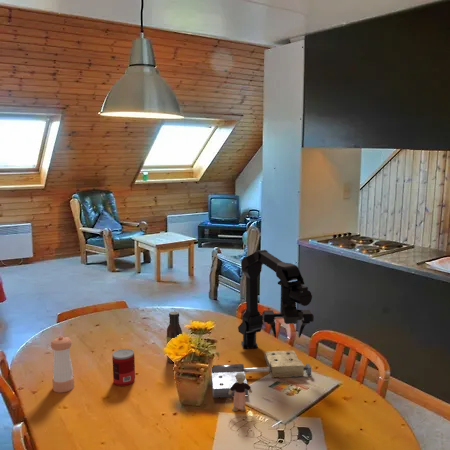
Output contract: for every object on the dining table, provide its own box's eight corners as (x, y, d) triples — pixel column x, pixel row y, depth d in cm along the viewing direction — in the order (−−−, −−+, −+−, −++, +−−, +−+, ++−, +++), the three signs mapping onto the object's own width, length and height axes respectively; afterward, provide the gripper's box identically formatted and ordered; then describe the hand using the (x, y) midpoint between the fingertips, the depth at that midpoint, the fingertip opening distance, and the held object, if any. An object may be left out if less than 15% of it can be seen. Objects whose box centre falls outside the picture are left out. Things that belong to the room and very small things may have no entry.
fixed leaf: (211, 375, 177) (210, 363, 177) (308, 371, 180) (308, 359, 180) (213, 397, 161) (213, 384, 160) (320, 393, 164) (320, 380, 163)
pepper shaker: (54, 394, 163) (51, 342, 160) (51, 385, 170) (48, 334, 167) (76, 389, 167) (73, 338, 164) (72, 380, 173) (69, 331, 170)
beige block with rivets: (264, 358, 191) (264, 348, 190) (293, 357, 192) (294, 347, 191) (271, 377, 175) (272, 366, 174) (303, 376, 176) (303, 365, 175)
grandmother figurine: (231, 413, 151) (231, 376, 149) (227, 407, 155) (227, 371, 153) (253, 410, 154) (253, 373, 152) (249, 404, 157) (249, 368, 155)
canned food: (139, 377, 175) (138, 350, 173) (127, 388, 168) (126, 359, 166) (121, 374, 178) (120, 347, 176) (109, 384, 170) (108, 356, 168)
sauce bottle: (179, 364, 186) (179, 316, 183) (164, 363, 187) (163, 315, 184) (184, 357, 192) (183, 310, 189) (169, 356, 194) (169, 309, 190)
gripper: (266, 305, 169) (265, 346, 171) (317, 304, 170) (316, 345, 172) (262, 295, 180) (261, 334, 182) (310, 295, 181) (309, 333, 183)
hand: (287, 337), depth 180 cm, fingers open, 9 cm apart
